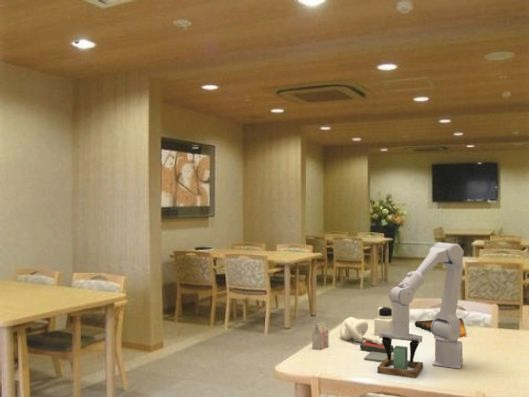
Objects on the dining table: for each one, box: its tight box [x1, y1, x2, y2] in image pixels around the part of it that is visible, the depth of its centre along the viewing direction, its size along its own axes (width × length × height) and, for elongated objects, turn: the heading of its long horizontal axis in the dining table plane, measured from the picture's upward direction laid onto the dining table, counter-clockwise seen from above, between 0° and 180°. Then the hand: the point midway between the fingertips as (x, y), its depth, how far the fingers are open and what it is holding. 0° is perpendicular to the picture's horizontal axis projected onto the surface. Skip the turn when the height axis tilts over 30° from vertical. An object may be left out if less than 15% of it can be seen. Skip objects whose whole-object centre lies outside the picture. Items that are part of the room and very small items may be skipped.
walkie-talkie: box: [352, 338, 394, 354], centre depth 223 cm, size 9×4×20 cm
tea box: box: [311, 321, 330, 351], centre depth 224 cm, size 4×7×10 cm, turn 145°
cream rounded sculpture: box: [339, 316, 369, 342], centre depth 238 cm, size 11×12×9 cm
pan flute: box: [414, 317, 467, 338], centre depth 257 cm, size 25×3×25 cm
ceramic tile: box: [363, 352, 394, 363], centre depth 209 cm, size 10×10×1 cm
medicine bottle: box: [373, 306, 392, 336], centre depth 248 cm, size 7×7×12 cm
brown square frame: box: [377, 358, 424, 379], centre depth 194 cm, size 13×13×2 cm
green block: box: [393, 345, 409, 370], centre depth 194 cm, size 4×4×8 cm
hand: (400, 360), depth 194 cm, fingers open, 7 cm apart
